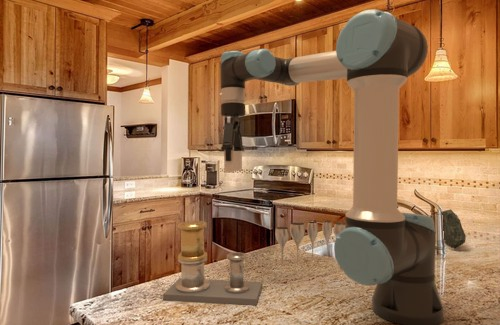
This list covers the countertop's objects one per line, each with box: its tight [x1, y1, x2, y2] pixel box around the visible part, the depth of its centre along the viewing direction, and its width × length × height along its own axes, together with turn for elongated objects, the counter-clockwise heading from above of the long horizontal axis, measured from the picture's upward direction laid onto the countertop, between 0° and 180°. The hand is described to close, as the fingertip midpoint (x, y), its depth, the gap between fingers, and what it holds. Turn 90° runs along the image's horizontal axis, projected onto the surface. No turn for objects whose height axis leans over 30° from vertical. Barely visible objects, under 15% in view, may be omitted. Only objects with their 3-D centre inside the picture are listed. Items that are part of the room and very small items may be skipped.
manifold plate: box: [162, 277, 263, 306], centre depth 94 cm, size 24×12×2 cm, turn 81°
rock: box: [441, 209, 467, 248], centre depth 141 cm, size 18×6×14 cm, turn 162°
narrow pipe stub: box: [225, 251, 249, 294], centre depth 93 cm, size 6×6×9 cm
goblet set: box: [274, 220, 345, 265], centre depth 124 cm, size 28×6×13 cm, turn 106°
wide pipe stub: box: [176, 256, 210, 293], centre depth 95 cm, size 9×9×8 cm
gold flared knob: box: [177, 220, 208, 262], centre depth 94 cm, size 8×8×9 cm
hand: (233, 171), depth 110 cm, fingers open, 13 cm apart
